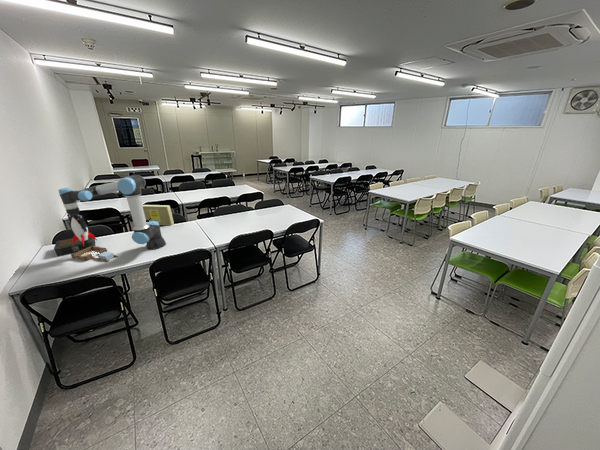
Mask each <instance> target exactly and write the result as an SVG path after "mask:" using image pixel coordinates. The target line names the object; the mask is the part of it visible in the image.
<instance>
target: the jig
mask: <svg viewBox="0 0 600 450" xmlns="http://www.w3.org/2000/svg"><path fill="white" fill-rule="evenodd" d="M91 250H92V251H93V250H95V251H96V250H98V251H99V253H100V254H101V253H103V252H108V249H107V248H106V247H102V246H98V245H95V246H90V247H88V248H85V249H83V250H80V251H78V252H75V253H72V254H70V257H71V258H72V259H74V260H81V261H84V262H87V261H91V260H92V259H93V260H96V259H97V261H101V260H102V261H101V262H107V263H109V262H110V259H109V260H105V259H100V258H99V257H96V256H92V254H91V253H93V252H92V251H91ZM86 252H87V253H86ZM96 252H97V251H96ZM84 253H85V254H84ZM89 253H90V254H89ZM94 253H95V252H94ZM97 253H98V252H97ZM93 255H94V254H93ZM114 256H115V257H114V258H119V255H117V254H114ZM108 261H109V262H108Z"/></svg>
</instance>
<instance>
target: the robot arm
mask: <svg viewBox="0 0 600 450" xmlns="http://www.w3.org/2000/svg"><path fill="white" fill-rule="evenodd" d="M146 182H147V181H146V180H145V178H144V177H143V176H141V175H139V174H132V175H130V176H125V177H123V178H120V180H117V181H112V182H108V183H103V184H100V185H99V184H98V185H94V186H93V185H92V186H90V187H88V188H83V189H81V190H73V188H71V187H62V188H59V189H58V194H59V198H60V199H61V202H62V203H63V207H64V209H65V212H66V214H67V215H66V216H67V218H68V223H69V226H70V227H71V220H72V217H73V218H74V219H75V220H76V221H78V222H79V220H80V222H81V223H80V222H79V223H80V226H81V227H82V228H81V229H82V231H83V234H84V236H86V235H89V234H88V232H89V231H88V232H87V229H86V227H87V228H88V224H87V222H86V221H85V218H84V216H83V214H80V212H81V210H80V208H79V205H78V202H79V201H80V202H81V201H83V202H84V201H85V202H86V201H90V200H92V199H93V198H94V197H97V196H103V195H107V194H112V193H115V192H120V193H121V194H123V197H125V198H126V201H127V204H128V207H129V210H130V215H131V218H132V222H133V227H132V231H133V233H132V234H131V239H132V241H133V242H134V243H136V244H138V245H145V244H146V245H145V247H146V248H147V249H148V250H157V249H161V248H163V247H165V246H166V245H167V243H166V240H165V238H164V237H163V235H162V232H161V227H160V225H159V223H158V222H157V221H149V222H146V218H145V214H144V210H143V206H142V205H143V203H142V199H141V195H142V194H143V193H142V189H144V187H146ZM77 201H78V202H77ZM77 219H78V220H77Z"/></svg>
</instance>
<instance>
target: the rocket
mask: <svg viewBox="0 0 600 450" xmlns="http://www.w3.org/2000/svg"><path fill="white" fill-rule="evenodd" d="M77 220H78V219H77ZM79 222H80V220H79ZM79 222H78V221H76V220H75V219H74V218H73V217H72V220H71V226H70V227H71V230H72V232H73V234H74V235H73V237H72V238H73V245H74V243H75V241H76V240H80V241H82V242H81V243H83V246H84V243H86V242H88V241H89V240H88V238H93V239H95V241H98V240H97V238H96V237H95V235H94V234H93V233H91V232H90V231H89V229H88V227H86V229H87V232H88V234H89V235H86V236H84V234H83V231H82V229H81V228H82V227H81V226H80V223H81V222H80V223H79Z"/></svg>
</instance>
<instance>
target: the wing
mask: <svg viewBox="0 0 600 450" xmlns="http://www.w3.org/2000/svg"><path fill="white" fill-rule="evenodd" d="M114 255H115V254H114V252H109V251H107V252H103V253H101V254H99V255H97V258H100V259H105V260H109V261H110V260H111V259H113V258H115V257H114Z"/></svg>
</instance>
